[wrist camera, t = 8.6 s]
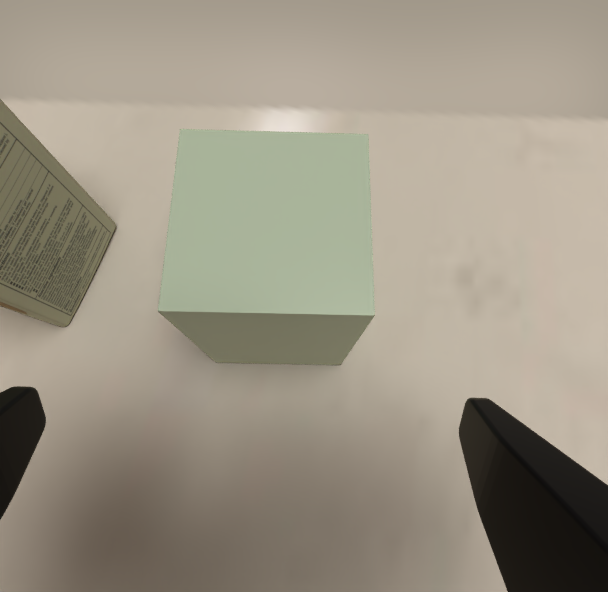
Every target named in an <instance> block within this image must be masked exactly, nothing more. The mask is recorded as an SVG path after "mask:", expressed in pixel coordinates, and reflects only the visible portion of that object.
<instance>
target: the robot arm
mask: <svg viewBox="0 0 608 592" xmlns="http://www.w3.org/2000/svg"><path fill="white" fill-rule="evenodd" d="M45 424H46V417H45V413H44V410H43V407H42V404H41V400H40V397H39V394H38V391H37V390H36V389H35V388H33V387H11V388H9V389H7V390H5V391H3V392H1V393H0V519H1V518H2V516H3V514H4V512H5V511H6V509H7V507H8V505H9V503H10V502H11V500H12V498H13V496H14V494H15V492H16V490H17V488H18V486H19V484H20V481H21V479H22V477H23V475H24V473H25V470H26V468H27V466H28V464H29V462H30V459H31V457H32V455H33V453H34V451H35V448H36V446H37V444H38V442H39V440H40V437H41V435H42V433H43V431H44V428H45ZM459 438H460V442H461V446H462V450H463V454H464V458H465V462H466V466H467V470H468V474H469V478H470V482H471V486H472V490H473V494H474V498H475V502H476V505H477V509H478V512H479V515H480V517H481V520H482V523H483V526H484V529H485V531H486V534H487V537H488V539H489V542H490V545H491V547H492V550H493V553H494V556H495V558H496V561H497V564H498V566H499V569H500V572H501V575H502V577H503V580H504V583H505V585H506V588H507V591H508V592H608V485H607V484H605V483H604V482H603V481H601V480H600V479H598V478H597V477H596V476H594V475H593V474H592V473H590V472H589V471H587V470H586V469H585V468H583V467H582V466H581V465H579V464H578V463H576V462H575V461H574V460H572V459H571V458H570V457H568V456H567V455H565V454H564V453H563V452H561V451H560V450H559V449H557V448H556V447H554V446H553V445H552V444H550V443H549V442H548V441H546V440H545V439H543V438H542V437H541V436H539V435H538V434H537V433H535V432H534V431H532V430H531V429H530V428H528V427H527V426H526V425H524V424H523V423H521V422H520V421H519V420H517V419H516V418H515V417H513V416H512V415H510V414H509V413H508V412H506V411H505V410H504V409H502V408H501V407H499V406H498V405H497V404H495V403H494V402H493V401H491V400H489V399H487V398H469V399H467V401H466V403H465V406H464V410H463V414H462V418H461V422H460V426H459Z"/></svg>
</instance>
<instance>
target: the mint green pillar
mask: <svg viewBox="0 0 608 592" xmlns="http://www.w3.org/2000/svg"><path fill="white" fill-rule="evenodd" d="M158 312H159V313H161V314H162V315H163V316H164V317H165V318H166V319H167V320H168V321H170V322H171V323H172V324H173V325H174V326H175V327H176V328H177V329H179V330H180V331H181V332H182V333H183V334H184V335H185V336H187V337H188V338H189V339H190V340H191V341H192V342H193V343H194V344H196V345H197V346H198V347H199V348H200V349H201V350H202V351H203V352H205V353H206V354H207V355H208V356H209V357H210V358H211V359H212V360H214V361H215V362H216V363H258V364H312V365H341V364H342V362H343V361H344V359H345V358H346V356H347V355H348V353H349V352H350V351H351V349H352V348H353V346H354V345H355V343H356V342H357V340H358V339H359V338H360V336H361V335H362V333H363V332H364V330H365V329H366V327H367V326H368V324H369V323H370V322H371V320H372V319H373V317H374V316H375V309H374V281H373V252H372V224H371V196H370V168H369V139H368V134H344V133H307V132H270V131H234V130H197V129H180V133H179V141H178V150H177V158H176V166H175V174H174V182H173V191H172V199H171V207H170V215H169V223H168V232H167V240H166V248H165V256H164V264H163V273H162V281H161V289H160V297H159V305H158Z"/></svg>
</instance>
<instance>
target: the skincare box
mask: <svg viewBox="0 0 608 592" xmlns="http://www.w3.org/2000/svg"><path fill="white" fill-rule="evenodd" d="M115 227H116V224H115V223H114V221H113V220H112V219H111V218H110V217H109V216H108V215H107V214H106V213H105V212H104V211H103V210H102V208H101V207H100V206H99V205H98V204H97V203H96V202H95V201H94V200H93V199H92V198H91V197H90V196H89V195H88V193H87V192H86V191H85V190H84V189H83V188H82V187H81V186H80V185H79V184H78V183H77V182H76V181H75V179H74V178H73V177H72V176H71V175H70V174H69V173H68V172H67V171H66V170H65V168H64V167H63V166H62V165H61V164H60V163H59V162H58V161H57V160H56V159H55V158H54V157H53V156H52V154H51V153H50V152H49V151H48V150H47V149H46V148H45V147H44V146H43V145H42V144H41V142H40V141H39V140H38V139H37V138H36V137H35V136H34V135H33V134H32V133H31V132H30V131H29V130H28V129H27V127H26V126H25V125H24V124H23V123H22V122H21V121H20V120H19V119H18V118H17V117H16V116H15V114H14V113H13V112H12V111H11V110H10V109H9V108H8V107H7V106H6V105H5V104H4V102H3V101H2V100H1V99H0V306H2V307H5V308H8V309H10V310H13V311H16V312H19V313H21V314H24V315H27V316H30V317H33V318H36V319H39V320H42V321H45V322H48V323H51V324H54V325H57V326H60V327H66V326H67V325H69V323H70V321H71V319H72V317H73V315H74V314H75V312H76V310H77V308H78V306H79V304H80V302H81V300H82V298H83V296H84V294H85V292H86V290H87V288H88V286H89V284H90V282H91V280H92V278H93V276H94V273H95V271H96V269H97V267H98V265H99V263H100V261H101V259H102V256H103V254H104V252H105V250H106V248H107V245H108V243H109V241H110V239H111V237H112V234H113V232H114V230H115Z"/></svg>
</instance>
